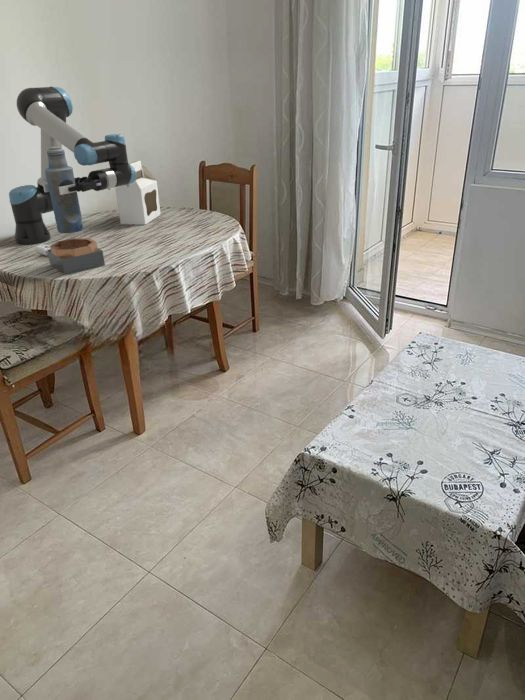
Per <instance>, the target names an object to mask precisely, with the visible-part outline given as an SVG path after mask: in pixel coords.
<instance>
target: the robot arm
mask: <svg viewBox="0 0 525 700" xmlns="http://www.w3.org/2000/svg"><path fill="white" fill-rule="evenodd" d="M16 109H17V112H18V113H19V115H20V116H21V118H22V119H23V120H24V121H26V123H29V124H30V125H31V126H35V127H36V126H37V127H38V128H40V177H39V178H38V179H37V181H36V183H37V185H36V186H35V185H33V184H26V185H25V184H24V185H21V186H20V185H19V186H18V187H15V188H13V189H11V190H10V191H9V192H8V197H9V203H10V206H11V210H12V214H13V220H14V222H15V230H14V241H15V243H16V244H19V245H33V244H41V243H45V242H47V241H49V240H51V238H52V237H51V232H50V231H49V229H48V227H47V226H46V224H45V223H44V219H43V214H47V213H50V212H54V210H53V206H52V201H51V196H50V192H49V187H48V182H47V178H46V173H45V169H47V168H48V167H49V162H48V155H47V150H49V148H50V147H61V149H63V147H65V148H66V149H68V150H69V151H71V152H72V153H73V155H74V159H75V160H76V161H77V163H78V164H79V165H81V166H94V165H97V164H103V163H108V165H109V167H105V168H102V169H96V170H91V171H90V172H89V173H88V176H82V177H78V176H77V177H74V179H75V184H76V186H75V184H71V185H66V186H61V187H59V192H60V195H64V194H68V193H73V192H76V191H77V193H79V192H83V193H84V192H87V191H90V190H91V191H92V190H93V191H96V192H100V191H103V190H108V191H109V190H111V189H112V188H116V187H118V186H123V185H127V184H130V183H133V182H134V181H135V180H136V171H135V170H134V167H133V166H131V165H129V164H130V163H129V161H128V153H127V145H126V140H125V137H124V135H123V134H121V133H114V134H113V133H111V134H105V136H104V140H102V141H95V142H93V141H92V140H90V139H88V138H87V137H86V136H84V135H83V134H82V133H80V132H79V131H77V130H76V129H75V128H73V127H72V126H71V125H69V124H68V123H67V118H70V116H71V115H72V114H73V103H72V99H71V97H70V96H69V93H67V91H66V90H64V88H62V87H58V86H45V87H44V86H43V87H28V88H27V87H26V88H24V89H22V90H21V91H20V92H19V94H18V95H17V98H16Z"/></svg>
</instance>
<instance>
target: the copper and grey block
mask: <svg viewBox="0 0 525 700" xmlns="http://www.w3.org/2000/svg"><path fill="white" fill-rule="evenodd" d="M46 252H47V256H48V261H49V265H50V266H51V267H52V268H54V269H56V270H58V271H59V272H60V273H62V274H63V275H65V276H66V275H70V274H73V273H74V272H75V273H78V272H82V271H86V270H91V269H95V268H100V267H104V266H106V263H105V257H104V251H103V250H102V249H101V248H98V243H97V241H95V240H94V239H92V238H87V237H86V238H85V237H83V238H82V237H81V238H76V237H74V238H67V239H63V240H58V241H55V242H54V243H53V244H50V246H49V249H47V250H46Z"/></svg>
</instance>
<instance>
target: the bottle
mask: <svg viewBox="0 0 525 700" xmlns="http://www.w3.org/2000/svg"><path fill="white" fill-rule="evenodd" d="M65 154H66V153H65V150H64V148H62V149H61V147H50V148H49V150H47V155H48V162H49V167H48V168H47V169H45V173H46V178H47V182H48V187H49V192H50V196H51V201H52V206H53V210H54V211H53V215H54V219H55V223H56V228H57V232H59V233H60V234H74V233H78V232H79V233H80V232H82V231H83V230H84V227H85V226H84V223H83V216H82V211H81V207H80V201H79V196H78V192H77V191H76V192H73V193H68V194H64V195H60V192H59V187H61V186H66V185H71V184H75V179H74V178H75V176H74V170H73V166H68V165H69V164H68V162H67V158H66V155H65ZM75 186H76V184H75Z"/></svg>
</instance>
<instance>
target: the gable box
mask: <svg viewBox="0 0 525 700" xmlns="http://www.w3.org/2000/svg"><path fill="white" fill-rule="evenodd" d="M129 165H131V166H133V167H134V170H135V171H136V180H135V181H134V182H133V183H130V184H127V185H123V186H118V187H115V196H116V200H117V208H118V215H119V221H120V225H133V224H134V225H135V226H136V225H137V226H140V225H141V226H143V225H144V226H145V225H147V224H148V223H150V222H151V221H153V220H155V219H156V218H157V217H159V216H161V207H160V197H159V191H158V190H159V189H158V182H157V181H158V180H156V178H154V175H152V173H151V172H150V171H149V170H148V169H147V167H146V166H144V165H142V161H141V160H139V159H138V160H137V161H134V162H132V163H129Z"/></svg>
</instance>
